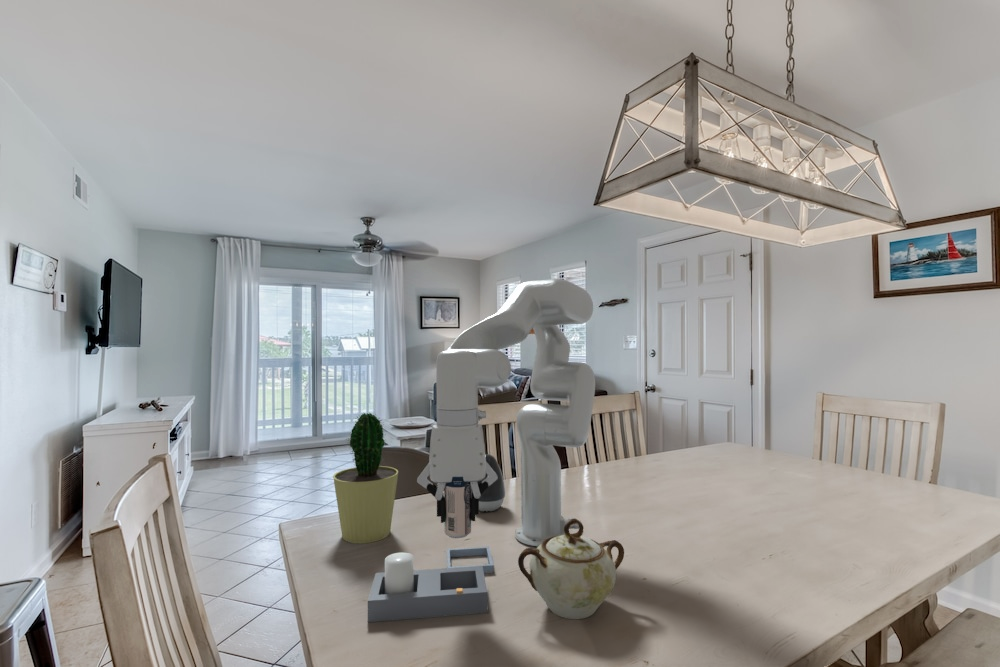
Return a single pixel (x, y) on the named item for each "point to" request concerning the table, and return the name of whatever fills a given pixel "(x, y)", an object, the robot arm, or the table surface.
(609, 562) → the sugar bowl
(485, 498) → the pump dispenser
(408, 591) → the two-slot holder block
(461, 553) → the hollow square frame
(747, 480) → the table surface
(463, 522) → the beer can
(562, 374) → the robot arm
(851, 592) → the table surface
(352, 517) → the potted cactus
